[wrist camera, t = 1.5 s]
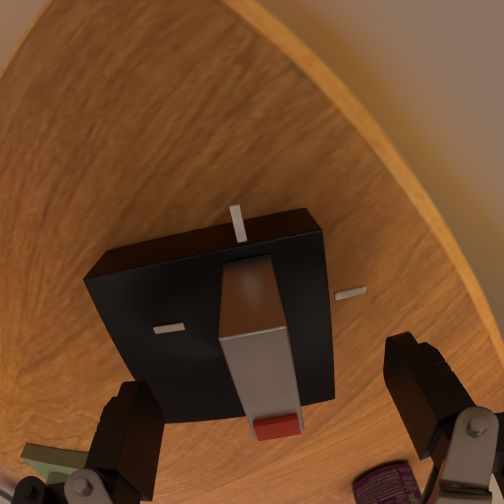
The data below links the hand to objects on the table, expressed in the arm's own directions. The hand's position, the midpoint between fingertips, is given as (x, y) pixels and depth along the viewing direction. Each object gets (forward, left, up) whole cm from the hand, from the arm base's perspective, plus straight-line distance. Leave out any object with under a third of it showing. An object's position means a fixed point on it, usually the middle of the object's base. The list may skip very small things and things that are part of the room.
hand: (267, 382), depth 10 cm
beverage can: (+29, +9, -7) cm, 31 cm away
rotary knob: (0, 0, -4) cm, 4 cm away
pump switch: (+21, -24, -7) cm, 32 cm away
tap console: (+1, -1, -7) cm, 7 cm away
